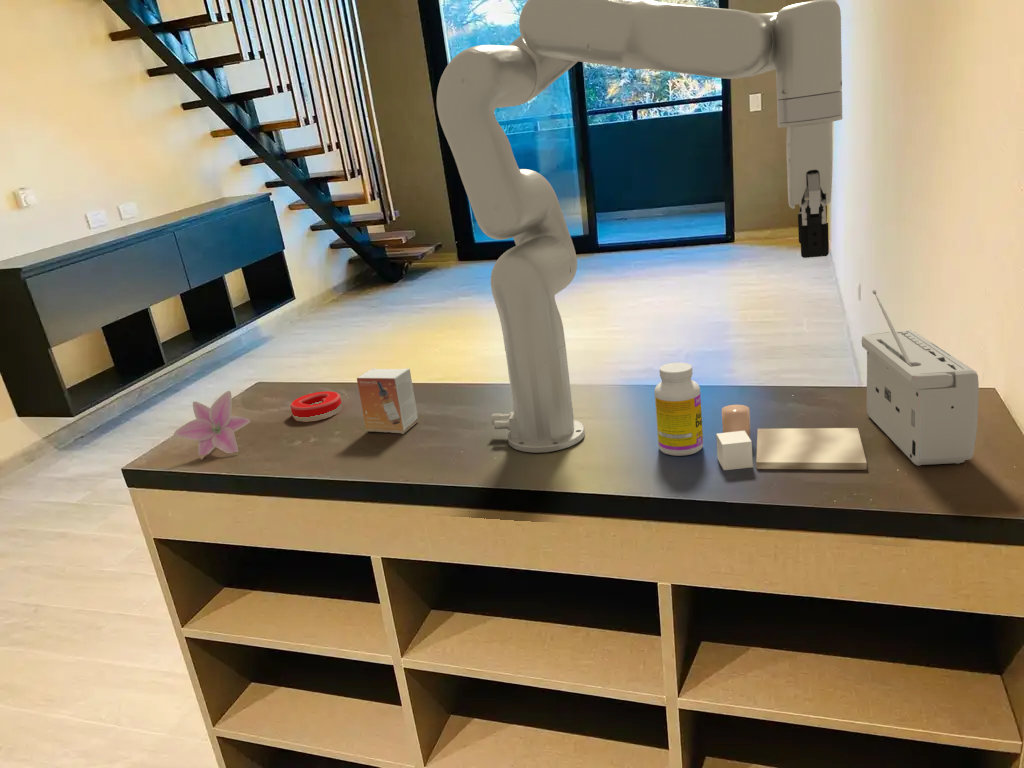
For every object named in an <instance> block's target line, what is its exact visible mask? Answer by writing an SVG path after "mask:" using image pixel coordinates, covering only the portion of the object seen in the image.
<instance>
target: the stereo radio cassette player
mask: <svg viewBox="0 0 1024 768" xmlns="http://www.w3.org/2000/svg"><path fill="white" fill-rule="evenodd" d="M871 292H872V294H873V295H875V298H876V300H877V302H878V304H879V307H880V309H881V312H882V315H883V316H884V319H885V320H886V323H887V326H888V327H889V329H890V331H885V332H876V333H870V334H864V335H862V337H861V341H860V342H861V347H862V348H863V349H864V350H866V411H867V415H868V417H869V418H870V419H871V420H872V421H873V422H874V423H875V424H876V425H877V426H878V428H880V429H881V431H882V432H884V434H886V436H887V437H888V438H889V439H890V440H891V441H892V442H893V443H894V445H896V446H897V447H898V448H899V450H901V451H902V452H903V453H904V455H905V456H907V458H909V460H910V461H911V462H912V463H913V464H914V465H916V466H917V467H918V466H919V467H920V466H921V465H925V466H926V465H942V464H945V465H946V464H956V465H960V464H961V463H964V462H966V460H967V461H968V460H971V459H973V457H974V453H975V445H976V440H977V439H976V438H977V431H978V416H979V415H978V414H979V389H980V387H979V383H980V382H979V375H978V373H977V371H976V370H974V369H973V368H971V367H970V366H968V365H967V364H965V363H964V362H962V361H961V360H959V359H957V358H956V357H954V356H953V355H951V354H949V353H948V352H946V351H945V350H944V349H941V348H940V347H938V346H937V345H936V344H934V343H933V342H931V341H930V340H928V339H927V338H925V337H924V336H922V335H920V334H919V333H917V332H916V331H913V330H912V329H908V330H897V331H896V329H895V327H894V326H893V323H892V321H891V319H890V317H889V315H888V314H887V311H886V309H885V308H884V306H883V304H882V303H881V301H880V298H879V296H878V295H877V289H873V290H872V291H871Z"/></svg>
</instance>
